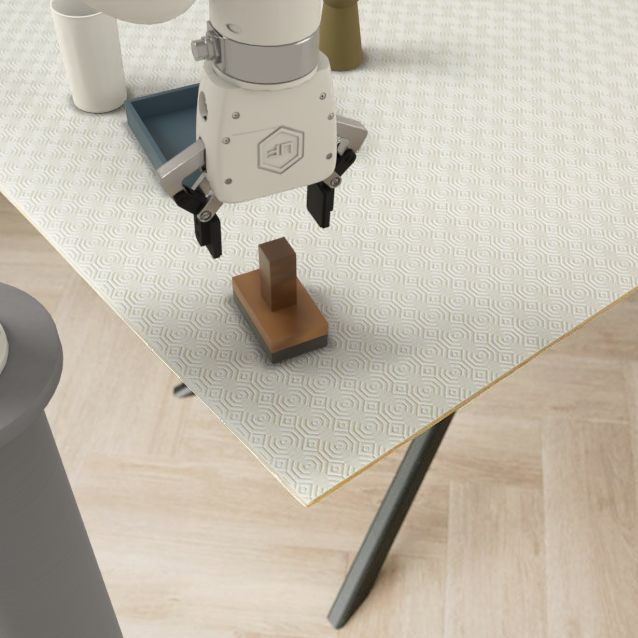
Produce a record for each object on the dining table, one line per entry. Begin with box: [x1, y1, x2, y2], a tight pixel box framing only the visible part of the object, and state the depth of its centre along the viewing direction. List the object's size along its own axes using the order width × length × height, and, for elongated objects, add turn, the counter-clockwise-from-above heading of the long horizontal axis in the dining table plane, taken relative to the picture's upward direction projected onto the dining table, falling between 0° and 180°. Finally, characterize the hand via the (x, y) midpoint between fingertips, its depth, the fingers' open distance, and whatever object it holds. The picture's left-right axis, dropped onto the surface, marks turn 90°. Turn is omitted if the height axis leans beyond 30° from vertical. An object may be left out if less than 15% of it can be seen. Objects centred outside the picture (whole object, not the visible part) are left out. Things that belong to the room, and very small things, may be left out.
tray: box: [123, 82, 202, 188], centre depth 102 cm, size 19×14×3 cm
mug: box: [49, 0, 128, 114], centre depth 104 cm, size 10×7×12 cm, turn 32°
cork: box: [319, 0, 364, 72], centre depth 111 cm, size 6×6×11 cm
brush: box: [231, 236, 329, 365], centre depth 81 cm, size 6×9×9 cm, turn 27°
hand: (265, 232), depth 76 cm, fingers open, 9 cm apart
